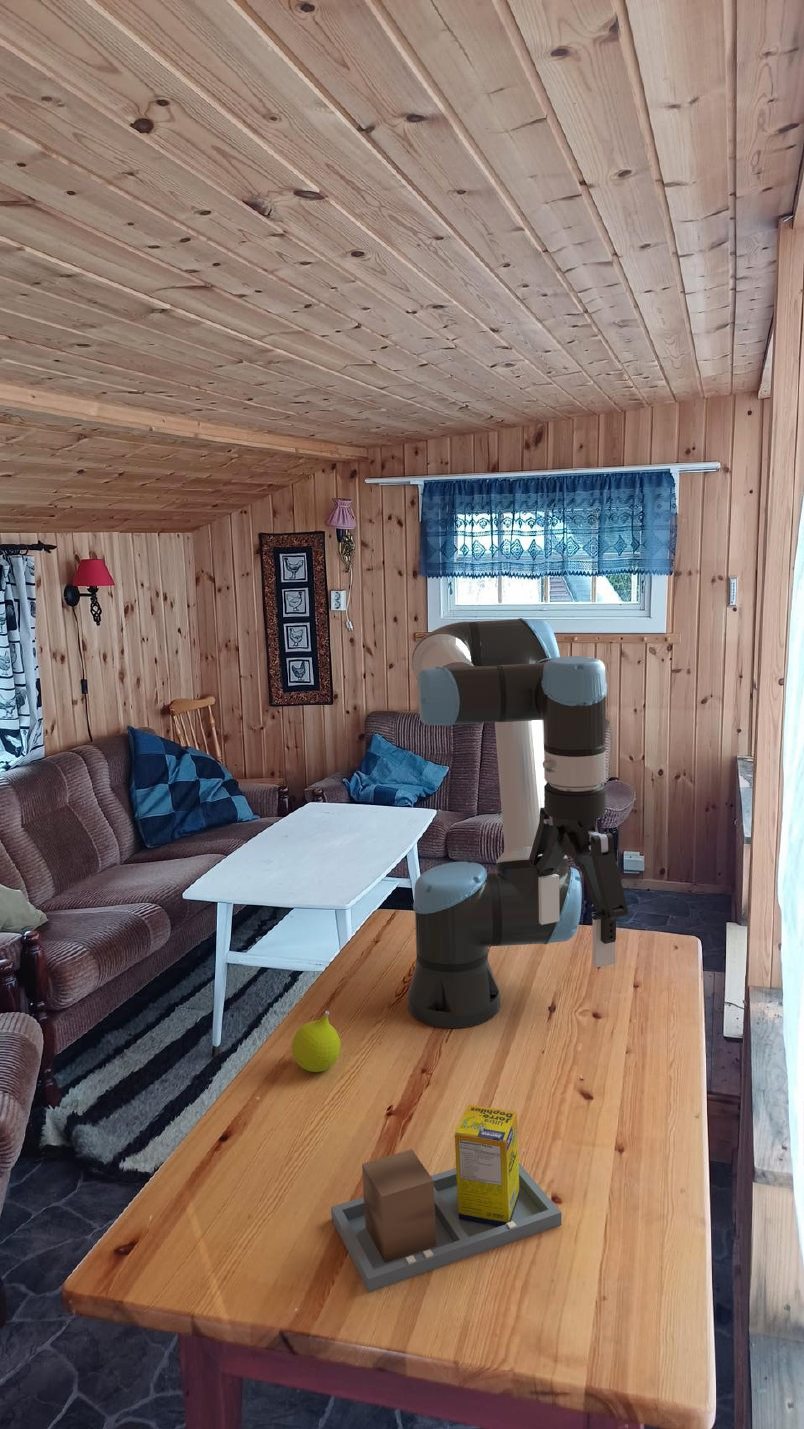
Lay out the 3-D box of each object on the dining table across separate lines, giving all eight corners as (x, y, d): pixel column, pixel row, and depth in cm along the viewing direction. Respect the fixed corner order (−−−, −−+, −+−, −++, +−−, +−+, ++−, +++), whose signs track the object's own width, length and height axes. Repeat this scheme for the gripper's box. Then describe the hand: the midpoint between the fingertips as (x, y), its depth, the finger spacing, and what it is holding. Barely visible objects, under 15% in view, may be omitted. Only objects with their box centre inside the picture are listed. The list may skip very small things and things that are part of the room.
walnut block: (365, 1227, 110) (362, 1163, 109) (414, 1211, 112) (411, 1148, 111) (385, 1263, 105) (381, 1196, 103) (436, 1245, 107) (433, 1180, 105)
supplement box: (520, 1194, 114) (518, 1110, 112) (508, 1229, 109) (506, 1141, 107) (470, 1185, 116) (467, 1102, 114) (457, 1219, 111) (454, 1132, 109)
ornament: (351, 1069, 144) (347, 1006, 142) (311, 1087, 139) (306, 1022, 137) (323, 1050, 149) (320, 989, 147) (284, 1067, 145) (279, 1005, 143)
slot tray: (332, 1223, 112) (330, 1205, 111) (509, 1166, 120) (509, 1149, 120) (369, 1296, 101) (368, 1277, 101) (561, 1228, 109) (561, 1210, 109)
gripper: (502, 763, 131) (505, 911, 136) (602, 815, 108) (602, 991, 113) (551, 756, 134) (553, 901, 138) (660, 805, 111) (657, 978, 115)
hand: (575, 942), depth 126 cm, fingers open, 13 cm apart
